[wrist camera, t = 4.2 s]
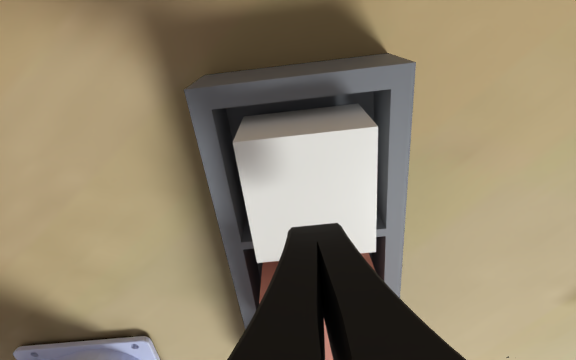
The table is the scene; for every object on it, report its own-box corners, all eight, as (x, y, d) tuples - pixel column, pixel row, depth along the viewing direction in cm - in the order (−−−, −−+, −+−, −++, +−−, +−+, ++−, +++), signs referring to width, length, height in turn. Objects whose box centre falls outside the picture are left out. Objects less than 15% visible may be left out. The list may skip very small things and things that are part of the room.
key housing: (268, 360, 23) (265, 409, 20) (204, 75, 14) (183, 89, 11) (379, 351, 23) (393, 400, 20) (388, 53, 14) (415, 62, 11)
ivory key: (262, 219, 15) (256, 262, 12) (243, 116, 13) (232, 142, 10) (359, 209, 15) (376, 252, 12) (358, 103, 13) (378, 126, 10)
